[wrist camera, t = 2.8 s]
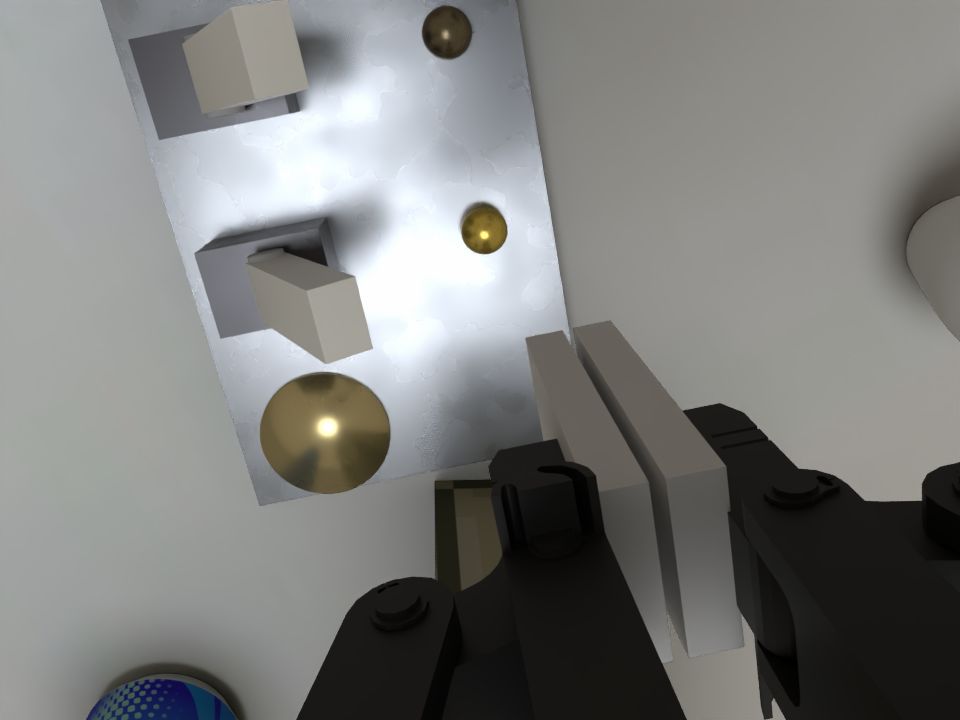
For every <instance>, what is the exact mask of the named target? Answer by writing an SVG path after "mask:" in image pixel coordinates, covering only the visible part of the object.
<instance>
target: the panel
mask: <svg viewBox="0 0 960 720" xmlns="http://www.w3.org/2000/svg"><path fill="white" fill-rule="evenodd" d="M272 1H279V0H101V3H102V7H103V10H104V13H105V16H106V19H107V23H108V26H109V29H110V32H111V35H112V38H113V42H114V45H115V48H116V51H117V54H118V57H119V61H120V64H121V67H122V70H123V73H124V77H125V80H126V83H127V86H128V89H129V92H130V96H131V99H132V102H133V105H134V108H135V111H136V115H137V118H138V121H139V124H140V127H141V131H142V134H143V137H144V140H145V143H146V146H147V150H148V153H149V156H150V159H151V162H152V165H153V169H154V172H155V175H156V178H157V181H158V185H159V188H160V191H161V194H162V197H163V200H164V204H165V207H166V210H167V213H168V216H169V219H170V223H171V226H172V229H173V232H174V235H175V239H176V242H177V245H178V248H179V251H180V254H181V258H182V261H183V264H184V267H185V270H186V273H187V277H188V280H189V283H190V286H191V289H192V293H193V296H194V299H195V302H196V305H197V308H198V312H199V315H200V318H201V321H202V324H203V327H204V331H205V334H206V337H207V340H208V343H209V346H210V350H211V353H212V356H213V359H214V362H215V366H216V369H217V372H218V375H219V378H220V381H221V385H222V388H223V391H224V394H225V397H226V400H227V404H228V407H229V410H230V413H231V416H232V420H233V423H234V426H235V429H236V432H237V435H238V439H239V442H240V445H241V448H242V451H243V454H244V458H245V461H246V464H247V467H248V470H249V474H250V477H251V480H252V483H253V486H254V489H255V493H256V496H257V499H258V502H259V505H260V506H262V505H267V504H272V503H277V502H282V501H287V500H292V499H297V498H302V497H307V496H312V495H317V494H333V493H340V492H344V491H348V490H351V489H353V488H356V487H358V486H361V485H366V484H371V483H376V482H381V481H386V480H391V479H396V478H401V477H406V476H411V475H416V474H421V473H426V472H431V471H436V470H440V469H445V468H450V467H455V466H460V465H465V464H470V463H475V462H480V461H485V460H490V459H493V458H494V457H495V455H496V453H497V452H498V450H502V449H507V448H512V447H517V446H522V445H527V444H532V443H537V442H542V441H543V435H542V429H541V424H540V418H539V413H538V407H537V402H536V396H535V391H534V385H533V379H532V374H531V368H530V363H529V357H528V352H527V346H526V341H525V338H526V337H531V336H536V335H541V334H545V333H550V332H555V331H560V330H563V332H564V334H565V336H566V337H567V339H568V341H569V343H570V344H571V339H570V333H569V327H568V320H567V314H566V308H565V302H564V295H563V289H562V283H561V277H560V271H559V264H558V258H557V252H556V246H555V239H554V233H553V227H552V221H551V215H550V208H549V202H548V196H547V190H546V183H545V177H544V171H543V165H542V159H541V152H540V146H539V140H538V134H537V127H536V121H535V115H534V109H533V103H532V96H531V90H530V84H529V78H528V72H527V65H526V59H525V53H524V47H523V40H522V34H521V28H520V22H519V16H518V9H517V3H516V0H288V4H289V8H290V12H291V16H292V20H293V24H294V28H295V32H296V36H297V40H298V44H299V49H300V53H301V57H302V61H303V65H304V69H305V73H306V77H307V81H308V85H309V89H307V90H303V91H299V92H295V93H291V94H287V95H284V96H280V97H276V98H272V99H268V100H264V101H261V102H257V103H253V104H249V105H245V110H246V111H244V112H239V113H235V114H230V115H225V116H219V117H214V118H209V119H207V116H206V113H204V114H202V112H201V108H200V105H199V101H198V98H197V94H196V91H195V87H194V84H193V81H192V77H191V74H190V70H189V67H188V63H187V60H186V56H185V53H184V49H183V46H182V44H183V43H184V42H185V40H184V37H185V36H188V35H191V34H195V33H197V32H199V31H200V30H201V29H203V28H204V27H205V26H207V25H208V24H209V23H211V22H212V21H213V20H215V19H216V18H217V17H219V16H220V15H221V14H223V13H224V12H225V11H227V10H228V9H229V8H231V7H237V6H244V5H251V4H258V3H265V2H272ZM275 248H283V250H284V252H286V253H289V254H292V255H295V256H298V257H300V258H303V259H306V260H309V261H312V262H315V263H318V264H321V265H324V266H327V267H330V268H333V269H335V270H338V271H341V272H344V273H347V274H350V275H353V276H355V277H356V281H357V285H358V289H359V293H360V297H361V301H362V305H363V309H364V313H365V317H366V322H367V326H368V330H369V334H370V338H371V342H372V346H373V349H371V350H368V351H365V352H362V353H359V354H356V355H353V356H350V357H347V358H344V359H341V360H338V361H335V362H332V363H329V364H325V363H323V362H322V361H320V360H319V359H317V358H316V357H314V356H313V355H311V354H310V353H308V352H307V351H305V350H304V349H302V348H301V347H299V346H298V345H296V344H295V343H293V342H292V341H290V340H289V339H287V338H286V337H284V336H283V335H281V334H280V333H278V332H277V331H275V330H274V329H272V328H270V327H267V325H266V324H265V323H263V322H262V319H261V316H260V312H259V309H258V305H257V302H256V298H255V295H254V291H253V288H252V284H251V281H250V278H249V274H248V271H247V267H246V264H245V263H247V262H248V259H247V257H248V256H249V255H251V254H254V253H257V252H261V251H264V250H269V249H275ZM571 346H572V345H571Z"/></svg>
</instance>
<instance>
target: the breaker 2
mask: <svg viewBox="0 0 960 720" xmlns="http://www.w3.org/2000/svg"><path fill="white" fill-rule="evenodd" d="M247 259H248V262H247V263H245V264H246V267H247V271H248V274H249V278H250V281H251V284H252V288H253V291H254V295H255V298H256V302H257V305H258V309H259V312H260V316H261V319H262V322H263V323H265V324H266V325H267V327H270V328H272V329H274V330H275V331H277V332H278V333H280V334H281V335H283V336H284V337H286V338H287V339H289V340H290V341H292V342H293V343H295V344H296V345H298V346H299V347H301V348H302V349H304V350H305V351H307V352H308V353H310V354H311V355H313V356H314V357H316V358H317V359H319V360H320V361H322V362H323V363H325V364H329V363H332V362H335V361H338V360H341V359H344V358H347V357H350V356H353V355H356V354H359V353H362V352H365V351H368V350H371V349H373V346H372V342H371V338H370V334H369V330H368V326H367V322H366V317H365V313H364V309H363V305H362V301H361V297H360V293H359V289H358V285H357V281H356V277H355V276H353V275H350V274H347V273H344V272H341V271H338V270H335V269H333V268H330V267H327V266H324V265H321V264H318V263H315V262H312V261H309V260H306V259H303V258H300V257H298V256H295V255H292V254H289V253H286V252H284V250H283V248H275V249H269V250H264V251H261V252H257V253H254V254H251V255H249V256H248V257H247Z"/></svg>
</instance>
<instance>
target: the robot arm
mask: <svg viewBox="0 0 960 720" xmlns="http://www.w3.org/2000/svg"><path fill="white" fill-rule="evenodd" d="M573 331H574V338H575V344H576V350H577V355H576V353H575V351H574V350H573V348H572V346H571V344H570V343H569V341H568V339H567V337H566V336H565V334H564V332H563V330H560V331H555V332H550V333H545V334H541V335H536V336H531V337H526V338H525V341H526V346H527V352H528V357H529V363H530V368H531V374H532V379H533V385H534V391H535V396H536V402H537V407H538V413H539V418H540V424H541V429H542V435H543V441H542V442H537V443H532V444H527V445H522V446H517V447H512V448H507V449H502V450H498V452H497V453H496V455H495V457H494V458H493V460H492V462H491V463H490V465H489V472H490V477H491V483H492V493H491V501H492V506H493V511H494V516H495V520H496V525H497V530H498V535H499V540H500V544H501V549H502V557H501V559H500V561H499V563H498V565H497V566H496V567H495V568H494V570H493V571H492V572H491V573H490V574H489V575H487V576H486V577H485V578H483V579H482V580H481V581H479V582H478V583H476V584H474V585H472V586H470V587H468V588H466V589H464V590H462V591H460V592H457V593H455V594H453V593H452V592H451V590H450V589H449V588H448V587H447V585H446V584H445V583H442V582H440V581H437V580H435V579H432V578H425V577H408V578H403V579H395V580H392V581H389V582H386V583H385V584H381V585H379V586H377V587H375V588H373V589H371V590H370V591H369V592H367V593H366V594H365V595H363V596H362V597H360V598H359V599H358V600H357V601H356V602H355V603H354V605H353V606H352V607H351V609H350V610H349V611H348V613H347V614H346V616H345V618H344V620H343V622H342V625H341V627H340V629H339V631H338V633H337V635H336V637H335V639H334V641H333V643H332V646H331V648H330V650H329V652H328V654H327V656H326V658H325V660H324V662H323V665H322V667H321V669H320V671H319V673H318V675H317V677H316V679H315V681H314V683H313V686H312V688H311V690H310V692H309V694H308V696H307V698H306V700H305V702H304V705H303V707H302V709H301V711H300V713H299V715H298V717H297V719H296V720H687V719H686V717H685V715H684V712H683V710H682V708H681V705H680V703H679V701H678V699H677V696H676V694H675V692H674V689H673V687H672V685H671V683H670V680H669V678H668V676H667V673H666V671H665V669H664V667H663V664H662V663H667V662H672V661H673V657H672V649H671V642H670V634H669V627H668V620H667V612H668V614H669V617H670V619H671V621H672V623H673V625H674V627H675V629H676V632H677V634H678V636H679V638H680V640H681V642H682V645H683V647H684V649H685V651H686V653H687V655H688V657H689V658H692V657H697V656H702V655H707V654H712V653H717V652H721V651H726V650H731V649H736V648H741V647H744V639H743V629H742V619H741V613H742V615H743V617H744V618H745V620H746V621H747V623H748V625H749V626H750V628H751V630H752V631H753V633H754V637H755V648H756V658H757V669H758V680H759V690H760V701H761V708H762V712H763V716H764V720H765V719H770V718H773V715H772V704H771V702H772V700H773V698H774V699H775V701H776V702H777V704H778V706H779V708H780V710H781V712H782V713H783V715H784V717H785V719H786V720H960V462H959V463H955V464H950V465H946V466H941V467H939V468H937V469H936V470H934V471H932V472H930V473H928V474H927V475H926V477H925V479H924V481H923V483H922V501H890V502H879V501H864V500H863V499H862V498H861V497H860V496H859V495H858V494H857V493H856V492H855V491H854V490H853V489H852V488H851V487H850V486H849V485H848V484H847V483H845V482H844V481H842V480H840V479H839V478H837V477H836V476H834V475H831V474H827V473H824V472H820V471H817V470H808V469H798V468H797V467H796V466H795V465H794V464H793V463H792V462H791V461H790V459H789V458H788V457H787V456H786V455H785V454H784V453H783V452H782V451H781V450H780V449H779V448H778V447H777V446H776V445H775V444H774V443H773V442H772V441H771V440H768V437H767V436H766V435H765V434H764V433H763V432H762V431H761V430H760V429H757V426H756V425H755V424H754V423H753V422H752V421H751V420H750V419H749V418H748V416H747V415H746V414H745V413H743V412H741V411H738V410H736V409H733V408H731V407H728V406H726V405H723V404H721V403H718V404H714V405H709V406H704V407H699V408H694V409H689V410H684V411H682V410H681V409H680V407H679V406H678V405H677V404H676V402H675V401H674V400H673V399H672V397H671V396H670V395H669V394H668V392H667V391H666V390H665V389H664V387H663V386H662V385H661V384H660V382H659V381H658V380H657V379H656V377H655V376H654V375H653V373H652V372H651V371H650V370H649V368H648V367H647V366H646V365H645V363H644V362H643V361H642V360H641V358H640V357H639V356H638V355H637V353H636V352H635V351H634V350H633V348H632V347H631V346H630V345H629V343H628V342H627V341H626V339H625V338H624V337H623V336H622V334H621V333H620V332H619V331H618V329H617V328H616V327H615V326H614V324H613V323H612V322H611V321H605V322H600V323H595V324H590V325H585V326H580V327H575V328H573ZM666 610H667V612H666Z"/></svg>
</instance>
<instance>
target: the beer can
mask: <svg viewBox="0 0 960 720" xmlns="http://www.w3.org/2000/svg"><path fill="white" fill-rule="evenodd" d="M86 720H237V718H236V716H235V714H234V713H233V712H232V710H231V709H230V707H229V705H228V703H227V702H226V701H225V699H224V698H223V697H222V696H221V695H220V694H219V693H218V692H217V691H216V690H215V689H213V688H212V687H211V686H209V685H208V684H206V683H204V682H202V681H200V680H198V679H195V678H192V677H189V676H185V675H179V674H155V675H150V676H146V677H143V678H140V679H137V680H135V681H133V682H130V683H127V684H124V685H122V686H120V687H118V688H116V689H114V690H112V691H111V692H109V693H108V694H106V695H105V696H104V697H103V698H102V699H100V700H99V702H98V703H97V704H96V705H95V706H94V707H93V709H92V710H91V712H90V713H89V715H88V717H87V719H86Z"/></svg>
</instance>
